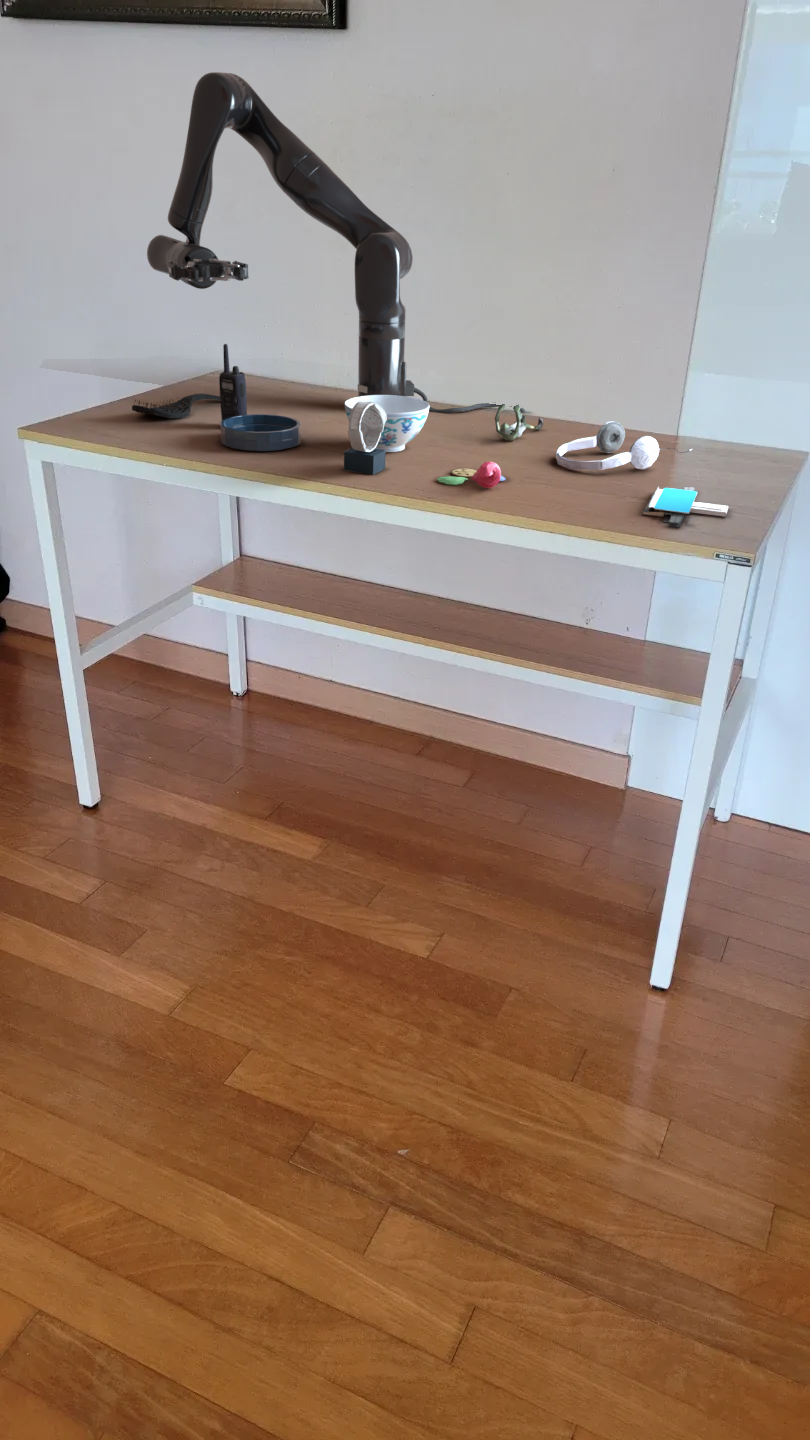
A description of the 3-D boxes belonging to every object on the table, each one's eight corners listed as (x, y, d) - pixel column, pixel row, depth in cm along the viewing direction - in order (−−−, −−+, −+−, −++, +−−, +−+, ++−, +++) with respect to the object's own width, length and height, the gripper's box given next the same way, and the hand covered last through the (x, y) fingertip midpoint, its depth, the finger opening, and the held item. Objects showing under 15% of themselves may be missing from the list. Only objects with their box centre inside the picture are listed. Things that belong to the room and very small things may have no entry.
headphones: (639, 441, 197) (542, 466, 192) (639, 410, 194) (540, 435, 189) (694, 466, 182) (590, 493, 178) (694, 433, 179) (589, 460, 175)
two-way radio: (217, 426, 202) (213, 343, 195) (233, 422, 206) (229, 340, 199) (239, 431, 200) (236, 347, 193) (255, 426, 203) (252, 344, 196)
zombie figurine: (546, 394, 204) (515, 410, 193) (543, 430, 208) (511, 447, 196) (521, 390, 206) (488, 405, 195) (517, 426, 210) (485, 442, 198)
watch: (390, 466, 181) (391, 399, 176) (368, 477, 175) (369, 408, 170) (361, 461, 183) (361, 395, 178) (338, 472, 177) (338, 404, 172)
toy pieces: (524, 482, 175) (526, 455, 173) (478, 495, 168) (480, 467, 166) (470, 467, 182) (472, 441, 180) (424, 478, 175) (425, 451, 173)
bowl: (296, 432, 200) (296, 413, 199) (304, 452, 188) (304, 432, 186) (220, 433, 198) (219, 414, 196) (222, 453, 185) (221, 433, 184)
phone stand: (720, 533, 155) (722, 522, 154) (637, 522, 158) (639, 511, 157) (731, 496, 171) (733, 486, 171) (656, 487, 175) (658, 477, 174)
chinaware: (373, 433, 201) (373, 391, 198) (442, 445, 195) (444, 402, 191) (327, 449, 190) (327, 405, 186) (400, 463, 183) (401, 417, 180)
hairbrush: (237, 388, 219) (154, 403, 200) (237, 407, 221) (155, 423, 201) (205, 384, 223) (120, 398, 203) (205, 402, 225) (122, 417, 205)
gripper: (157, 244, 204) (179, 253, 192) (229, 244, 210) (255, 252, 197) (160, 287, 208) (182, 297, 195) (231, 285, 213) (257, 295, 201)
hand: (219, 274), depth 196 cm, fingers open, 8 cm apart
